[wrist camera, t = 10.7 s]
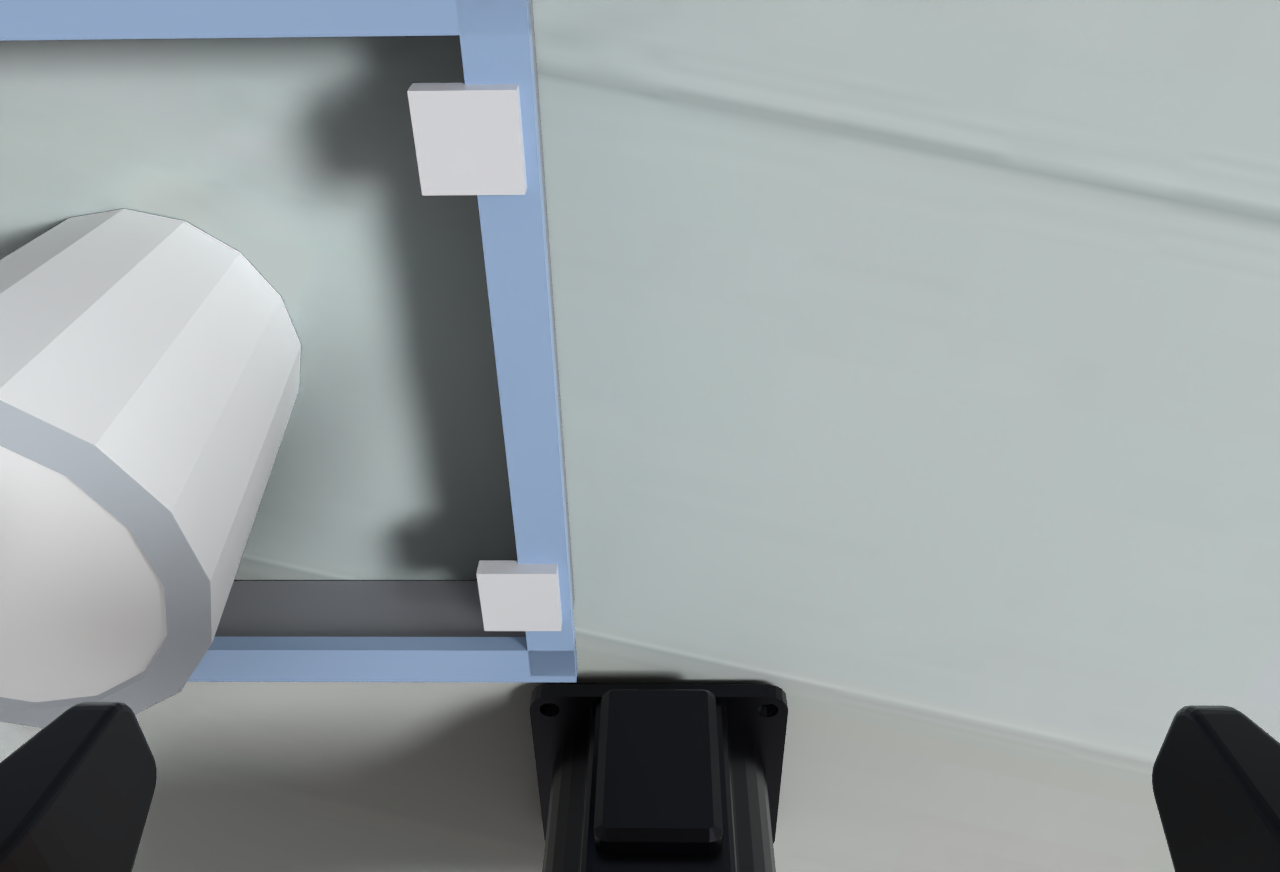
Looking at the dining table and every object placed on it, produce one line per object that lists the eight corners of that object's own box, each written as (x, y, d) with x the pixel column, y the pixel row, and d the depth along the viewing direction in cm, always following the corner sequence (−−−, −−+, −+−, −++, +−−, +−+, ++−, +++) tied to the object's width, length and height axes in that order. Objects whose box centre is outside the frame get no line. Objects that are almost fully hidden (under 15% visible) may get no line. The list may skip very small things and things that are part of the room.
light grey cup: (291, 515, 23) (172, 778, 17) (-30, 411, 22) (-277, 661, 16) (372, 262, 20) (254, 489, 14) (-8, 115, 18) (-317, 302, 12)
